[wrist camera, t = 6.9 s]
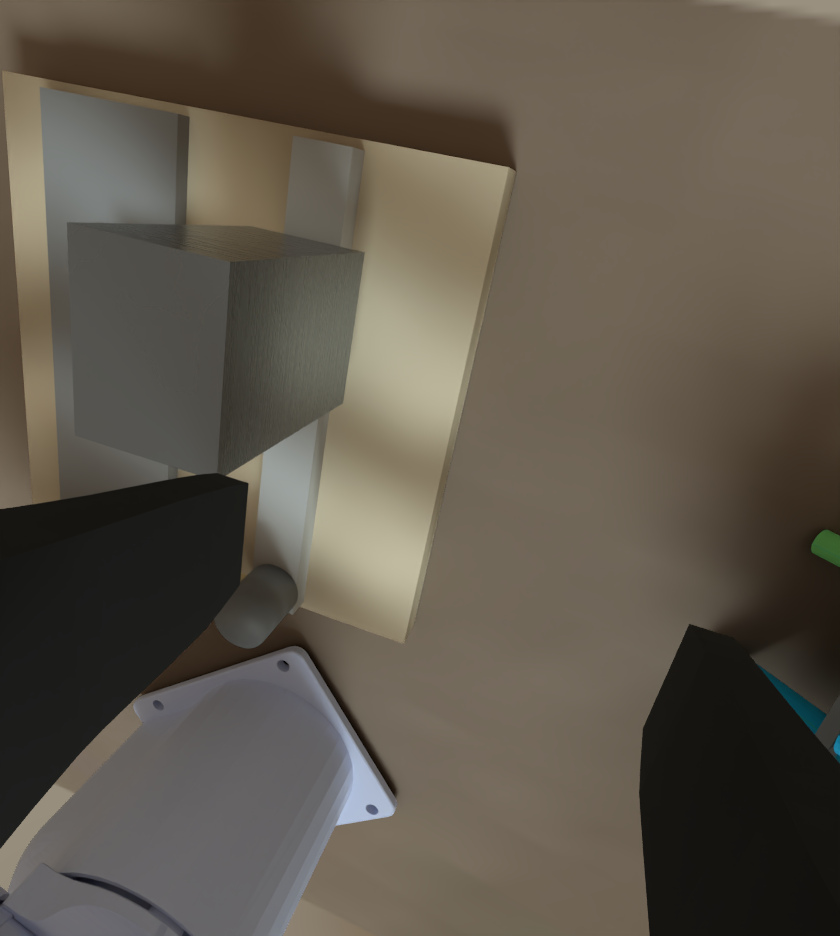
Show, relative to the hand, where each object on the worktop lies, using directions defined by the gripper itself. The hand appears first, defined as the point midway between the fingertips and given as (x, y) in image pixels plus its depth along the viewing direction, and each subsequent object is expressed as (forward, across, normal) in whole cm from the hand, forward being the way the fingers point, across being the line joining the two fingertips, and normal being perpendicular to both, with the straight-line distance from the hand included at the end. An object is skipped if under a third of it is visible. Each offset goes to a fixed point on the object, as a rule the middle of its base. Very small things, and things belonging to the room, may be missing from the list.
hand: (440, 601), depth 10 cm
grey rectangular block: (+7, +8, -2) cm, 11 cm away
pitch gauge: (+9, +9, +1) cm, 13 cm away
